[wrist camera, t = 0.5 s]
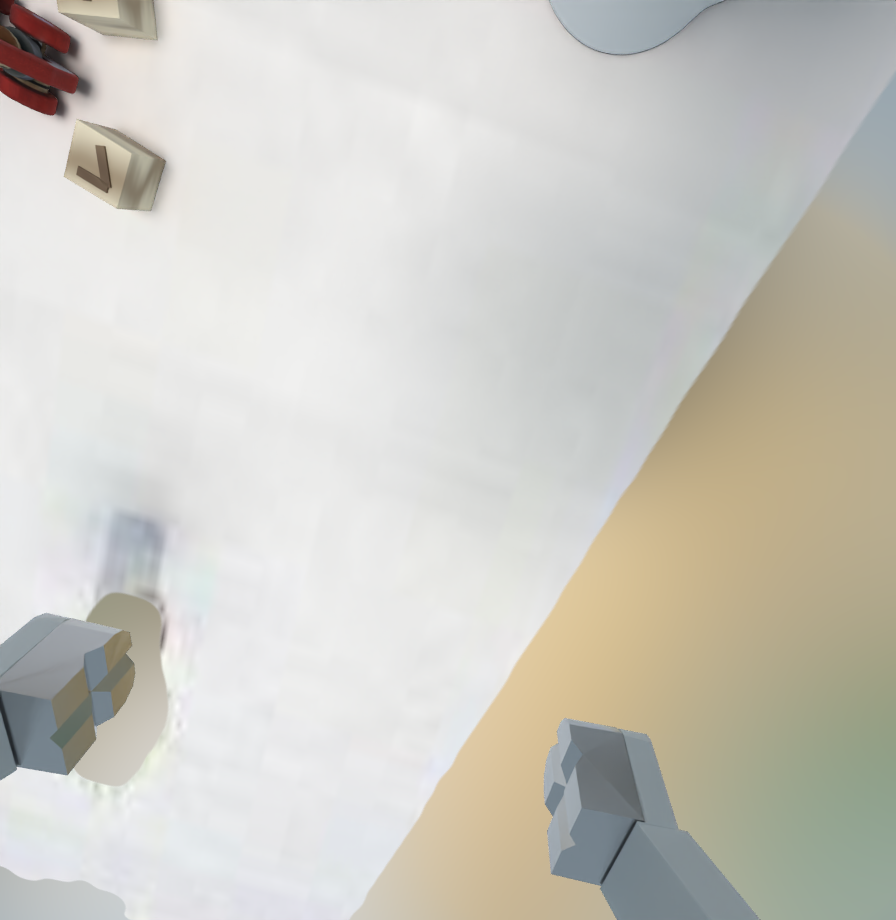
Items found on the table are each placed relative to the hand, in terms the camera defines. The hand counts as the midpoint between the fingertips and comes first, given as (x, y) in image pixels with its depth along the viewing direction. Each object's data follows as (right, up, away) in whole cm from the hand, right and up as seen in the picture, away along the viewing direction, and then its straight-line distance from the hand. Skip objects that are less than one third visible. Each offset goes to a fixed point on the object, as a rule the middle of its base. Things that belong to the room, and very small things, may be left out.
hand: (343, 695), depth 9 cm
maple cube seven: (-28, +32, +40) cm, 59 cm away
